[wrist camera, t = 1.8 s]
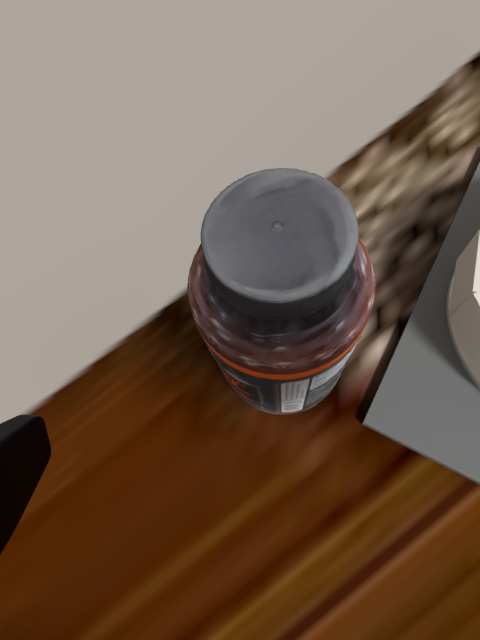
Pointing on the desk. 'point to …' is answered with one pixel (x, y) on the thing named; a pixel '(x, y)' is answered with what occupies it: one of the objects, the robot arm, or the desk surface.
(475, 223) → the mat
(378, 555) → the desk surface
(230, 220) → the supplement bottle
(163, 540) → the desk surface
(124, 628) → the desk surface
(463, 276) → the bowl
